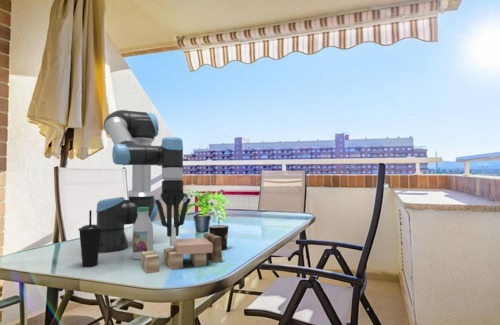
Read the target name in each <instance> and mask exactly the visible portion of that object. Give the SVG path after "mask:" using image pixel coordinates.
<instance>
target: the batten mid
mask: <svg viewBox="0 0 500 325" xmlns="http://www.w3.org/2000/svg"><path fill="white" fill-rule="evenodd" d="M183 256H184V254H179V255H178V254H177V252H176V251H175V249H174V247H169V248H168V247H167V248H164V249H163V264H164V265H166V266H167V267H168V268H169V269H170V270H177V269H183V268H184V263H183V262H184V261H183V260H184V257H183Z"/></svg>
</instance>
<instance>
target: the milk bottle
mask: <svg viewBox="0 0 500 325" xmlns="http://www.w3.org/2000/svg"><path fill="white" fill-rule="evenodd" d="M137 213H138V216H137V219H136V222H135V224H133V226H132V227H133V228H132V258H133V259H134V260H141V252H143V251H151V250H153V251H154V228H153V221H152V222H151V220H150V218H149V214H148V213H149V207H138V208H137Z"/></svg>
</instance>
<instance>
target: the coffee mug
mask: <svg viewBox="0 0 500 325" xmlns="http://www.w3.org/2000/svg"><path fill="white" fill-rule="evenodd" d="M208 229H209V230H208V231H209V232H208V233H211V234H214V235H217V236H220V237H221V241H222V251H225V250H227V248H228V246H227V245H228V234H229V225H228V224H214V225H209V226H208Z"/></svg>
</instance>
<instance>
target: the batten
mask: <svg viewBox="0 0 500 325" xmlns="http://www.w3.org/2000/svg"><path fill="white" fill-rule="evenodd" d="M189 255H190V261H191V263H192V264H193V266H194V267H203V266H207V258H206V253H196V254H189Z"/></svg>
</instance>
